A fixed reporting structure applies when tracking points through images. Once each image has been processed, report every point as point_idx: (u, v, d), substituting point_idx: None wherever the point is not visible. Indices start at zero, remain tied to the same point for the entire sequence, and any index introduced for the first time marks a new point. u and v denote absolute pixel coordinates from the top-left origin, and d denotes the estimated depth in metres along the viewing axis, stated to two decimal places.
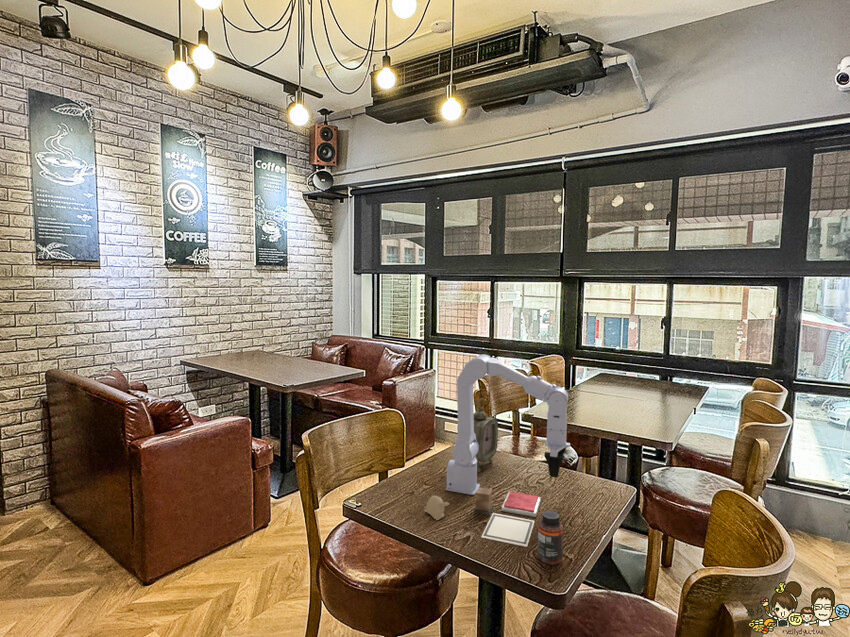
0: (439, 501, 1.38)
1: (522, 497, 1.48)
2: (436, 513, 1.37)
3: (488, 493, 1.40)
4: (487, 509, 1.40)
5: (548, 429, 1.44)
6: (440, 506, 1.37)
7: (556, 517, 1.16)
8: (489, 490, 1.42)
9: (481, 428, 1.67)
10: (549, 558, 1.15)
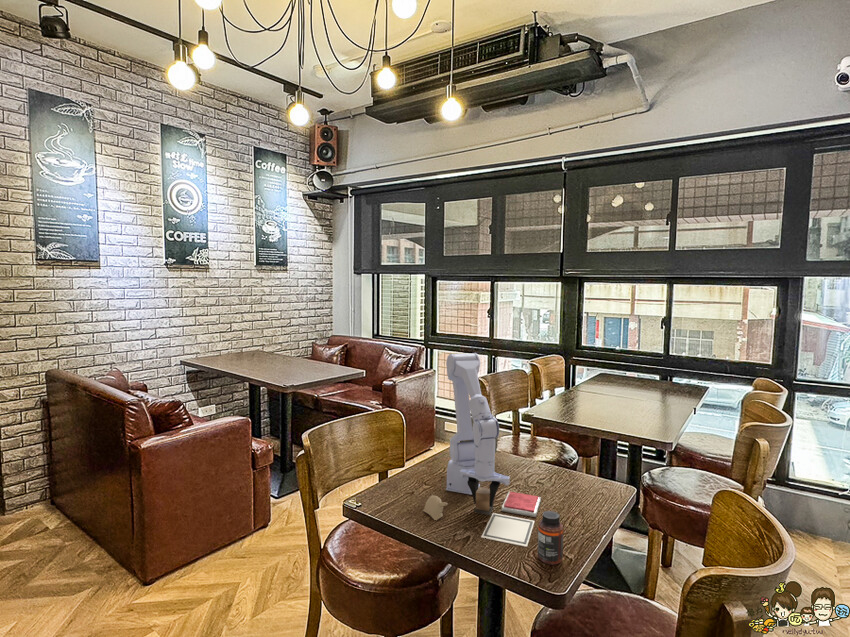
0: (438, 501, 1.38)
1: (522, 497, 1.48)
2: (435, 513, 1.37)
3: (488, 493, 1.40)
4: (487, 509, 1.40)
5: None
6: (439, 506, 1.37)
7: (556, 517, 1.16)
8: (489, 490, 1.42)
9: None
10: (549, 558, 1.15)
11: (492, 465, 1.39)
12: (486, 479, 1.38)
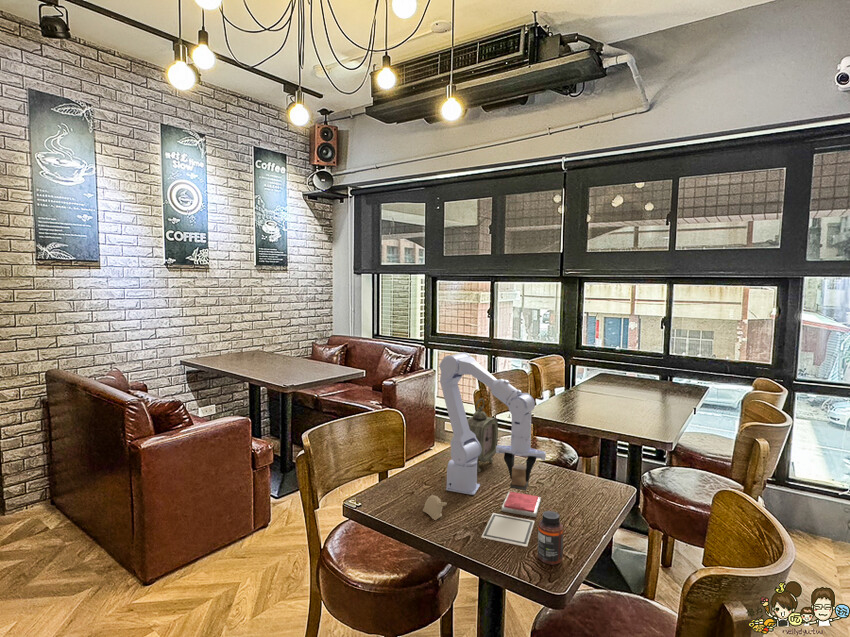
0: (437, 501, 1.38)
1: (522, 497, 1.48)
2: (434, 513, 1.37)
3: (524, 469, 1.42)
4: (523, 484, 1.42)
5: None
6: (438, 506, 1.37)
7: (556, 517, 1.16)
8: (525, 466, 1.44)
9: (481, 428, 1.67)
10: (549, 558, 1.15)
11: (529, 440, 1.41)
12: (523, 454, 1.40)
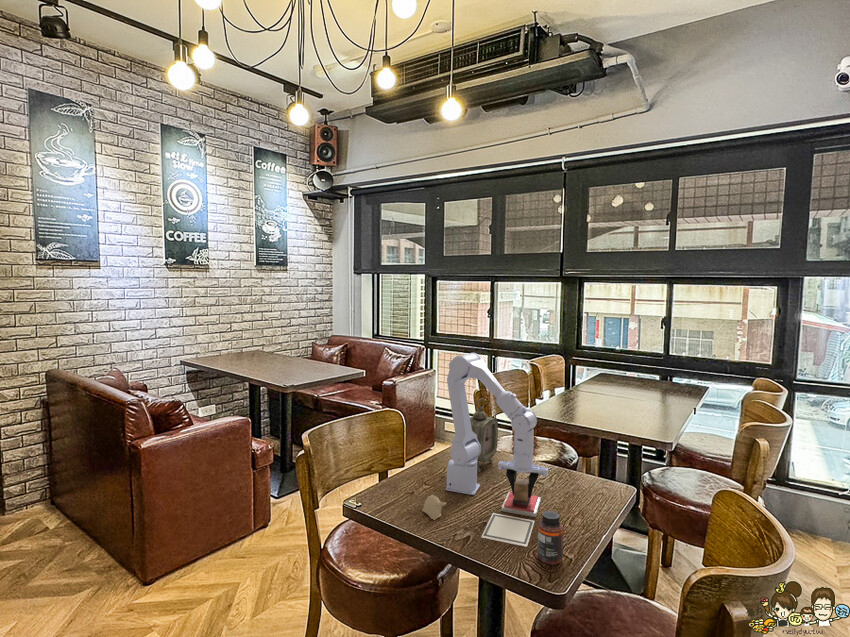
0: (436, 501, 1.38)
1: None
2: (433, 513, 1.37)
3: (527, 484, 1.43)
4: (526, 499, 1.42)
5: None
6: (437, 505, 1.37)
7: (556, 517, 1.16)
8: (527, 481, 1.45)
9: (481, 428, 1.67)
10: (549, 558, 1.15)
11: (531, 457, 1.42)
12: (525, 471, 1.41)
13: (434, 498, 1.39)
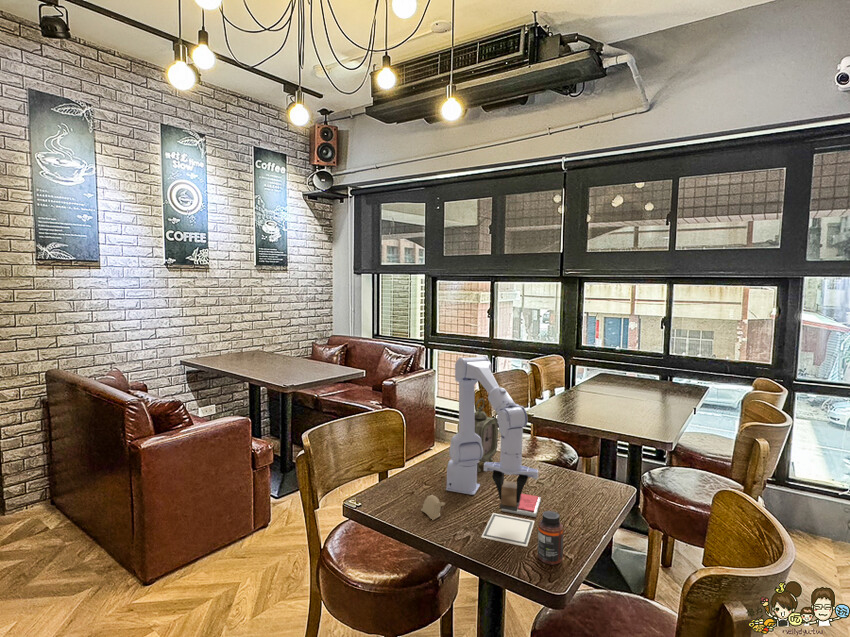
0: (435, 501, 1.38)
1: (522, 497, 1.48)
2: (432, 513, 1.37)
3: (515, 487, 1.29)
4: (514, 504, 1.29)
5: None
6: (436, 505, 1.37)
7: (556, 517, 1.16)
8: (516, 484, 1.31)
9: (481, 428, 1.67)
10: (549, 558, 1.15)
11: (520, 457, 1.28)
12: (513, 472, 1.27)
13: (433, 498, 1.39)
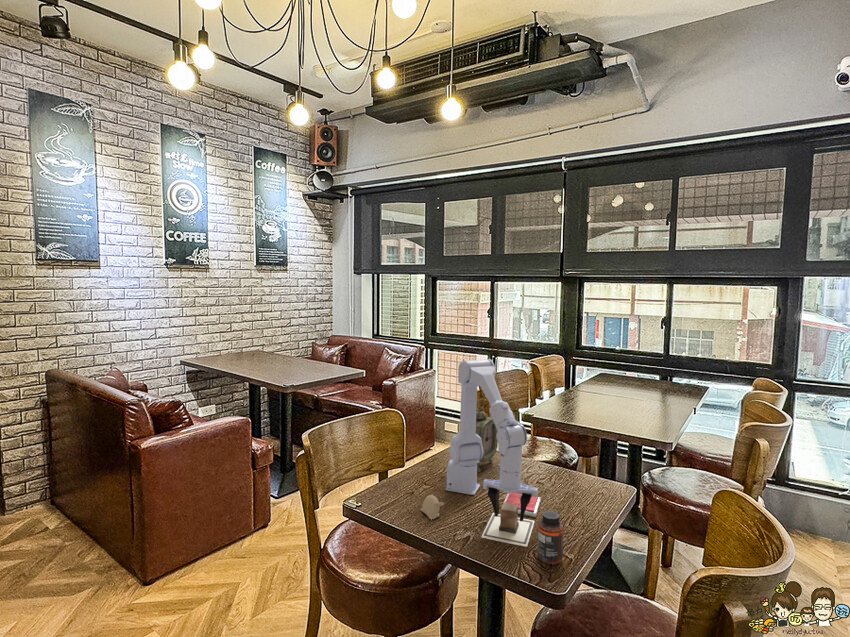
0: (434, 501, 1.38)
1: None
2: (431, 513, 1.37)
3: (514, 510, 1.30)
4: (513, 527, 1.29)
5: None
6: (435, 505, 1.37)
7: (556, 517, 1.16)
8: (515, 506, 1.32)
9: (481, 428, 1.67)
10: (549, 558, 1.15)
11: (519, 475, 1.29)
12: (512, 491, 1.28)
13: (432, 498, 1.39)
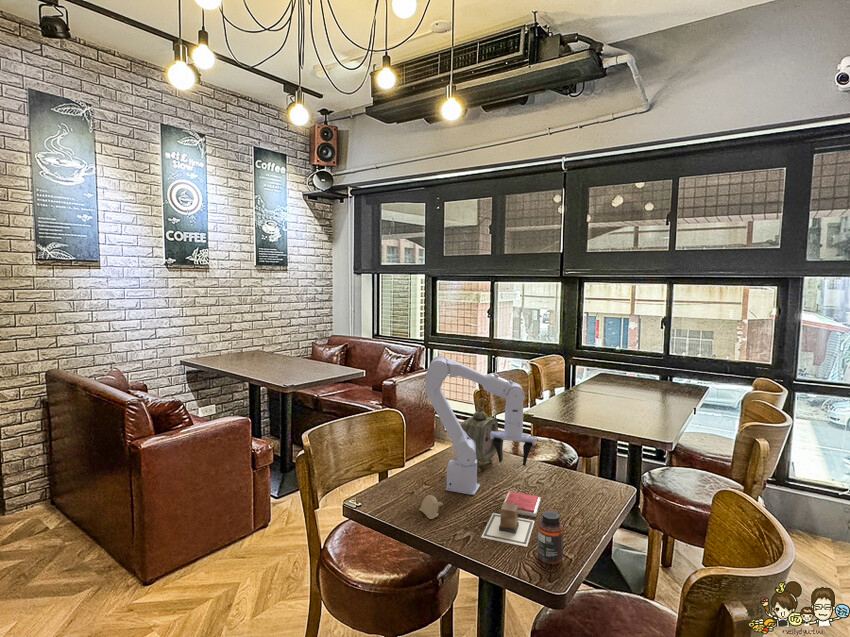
0: (433, 501, 1.38)
1: (522, 497, 1.48)
2: (430, 512, 1.37)
3: (514, 510, 1.30)
4: (513, 527, 1.29)
5: None
6: (434, 505, 1.37)
7: (556, 517, 1.16)
8: (515, 506, 1.32)
9: (481, 428, 1.67)
10: (549, 558, 1.15)
11: (521, 426, 1.52)
12: (515, 439, 1.51)
13: (431, 498, 1.39)
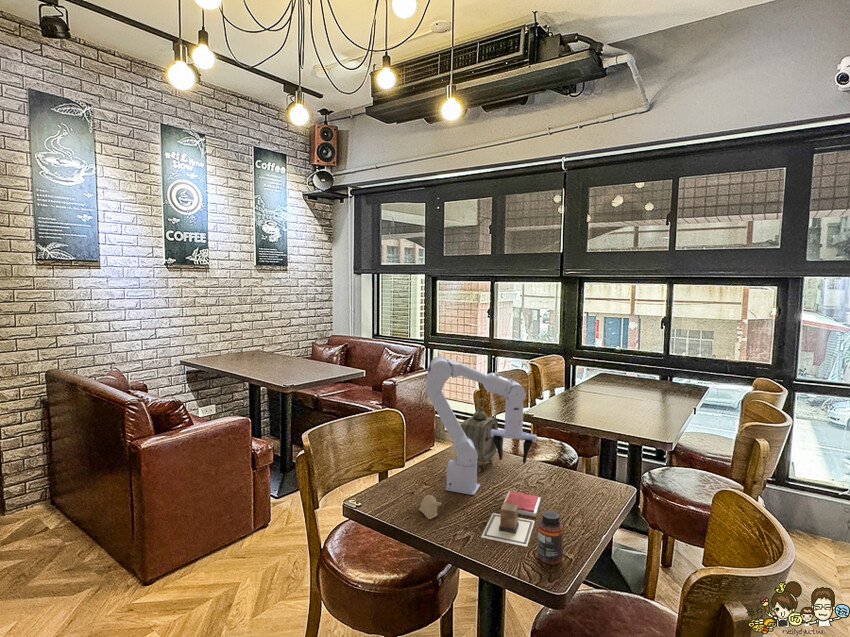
0: (432, 500, 1.38)
1: (522, 497, 1.48)
2: (428, 512, 1.37)
3: (514, 510, 1.30)
4: (513, 527, 1.29)
5: None
6: (433, 505, 1.37)
7: (556, 517, 1.16)
8: (515, 506, 1.32)
9: (481, 428, 1.67)
10: (549, 558, 1.15)
11: (521, 424, 1.54)
12: (515, 437, 1.53)
13: (430, 498, 1.39)
